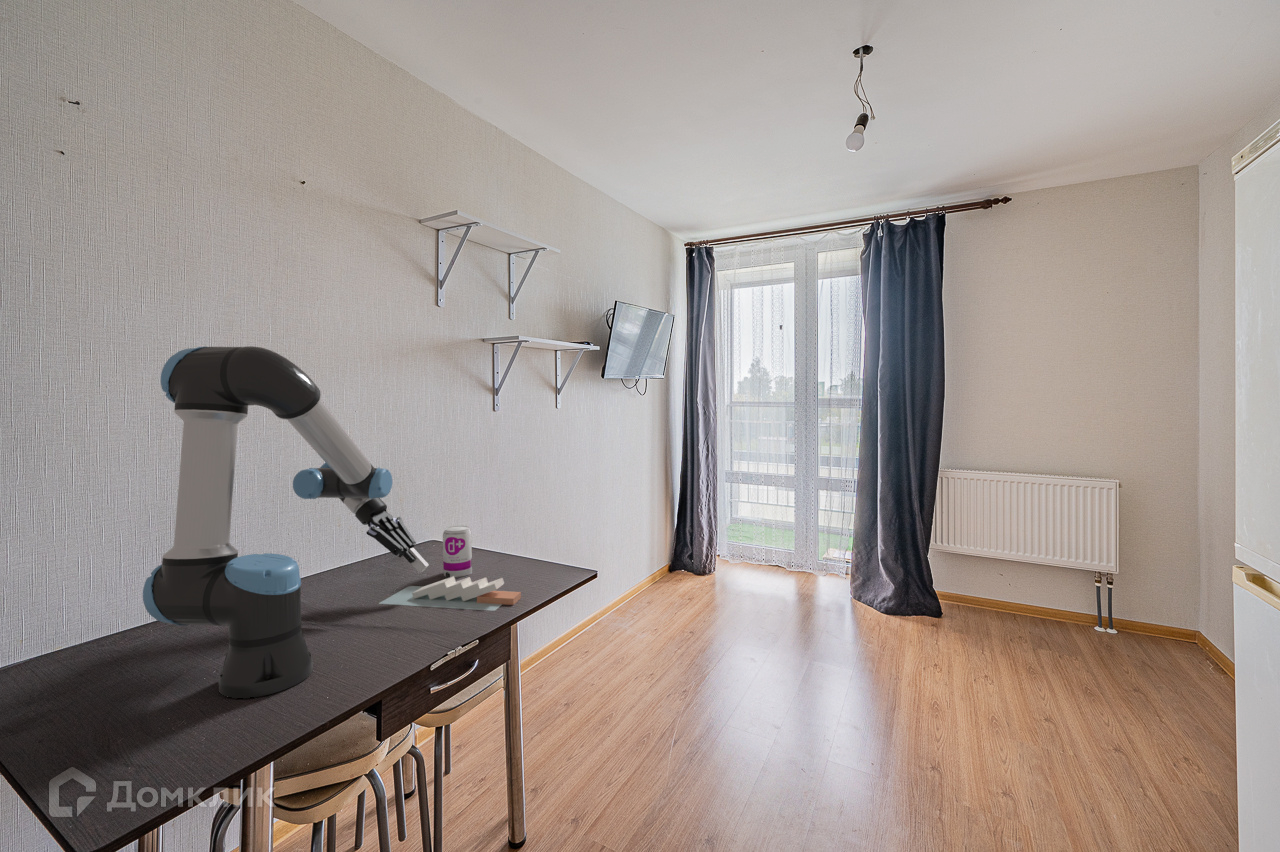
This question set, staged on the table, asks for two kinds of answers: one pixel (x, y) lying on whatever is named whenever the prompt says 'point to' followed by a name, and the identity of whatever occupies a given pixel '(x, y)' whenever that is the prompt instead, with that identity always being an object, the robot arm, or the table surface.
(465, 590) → the domino
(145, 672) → the table surface
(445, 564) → the supplement can
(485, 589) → the domino
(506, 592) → the domino
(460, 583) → the domino
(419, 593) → the domino
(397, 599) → the domino board
